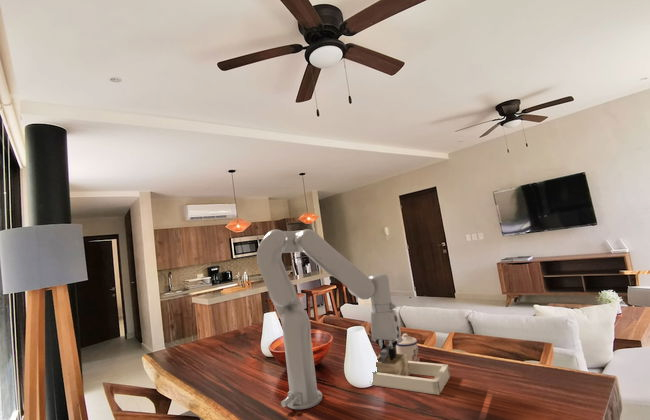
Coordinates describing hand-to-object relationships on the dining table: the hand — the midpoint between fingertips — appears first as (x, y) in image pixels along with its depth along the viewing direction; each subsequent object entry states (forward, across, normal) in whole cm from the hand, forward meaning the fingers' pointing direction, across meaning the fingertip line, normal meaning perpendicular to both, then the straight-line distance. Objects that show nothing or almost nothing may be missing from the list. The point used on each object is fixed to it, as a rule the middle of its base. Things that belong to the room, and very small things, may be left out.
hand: (389, 358), depth 121 cm
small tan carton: (+7, 0, 0) cm, 7 cm away
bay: (+8, -7, 0) cm, 11 cm away
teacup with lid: (+8, 0, -19) cm, 21 cm away
